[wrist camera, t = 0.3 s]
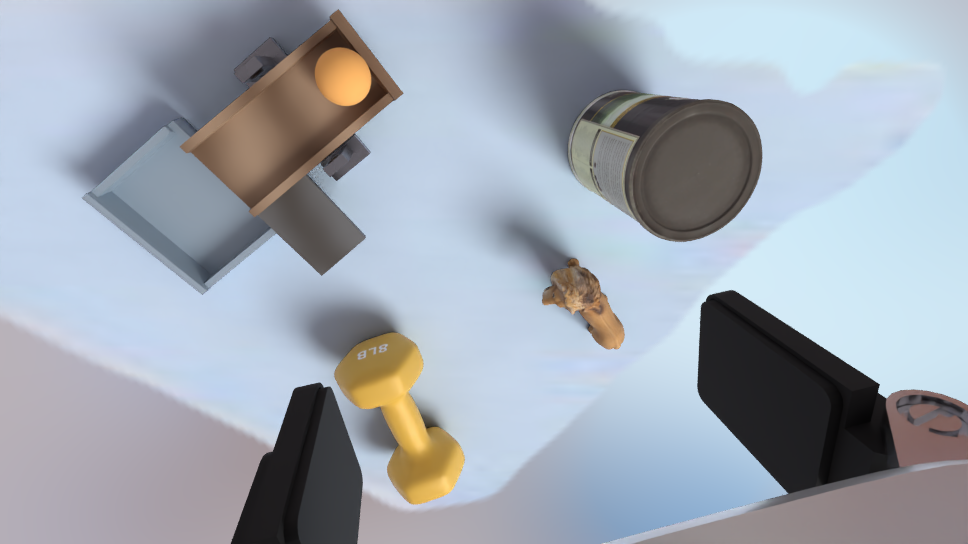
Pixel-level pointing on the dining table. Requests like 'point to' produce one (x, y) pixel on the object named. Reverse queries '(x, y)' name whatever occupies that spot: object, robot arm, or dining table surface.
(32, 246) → the dining table surface
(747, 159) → the coffee can
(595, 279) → the lion figurine
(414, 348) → the dumbbell
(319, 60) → the ball
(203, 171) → the tray
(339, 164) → the lever stand
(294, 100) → the brown tilting tray
